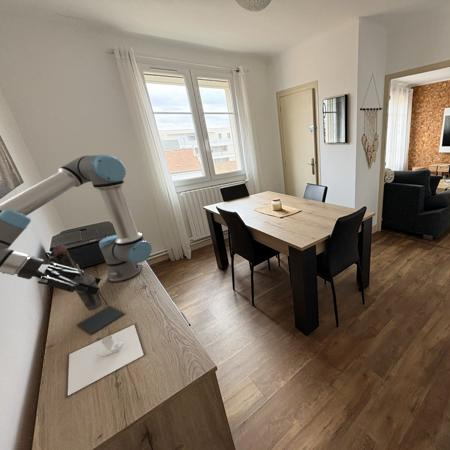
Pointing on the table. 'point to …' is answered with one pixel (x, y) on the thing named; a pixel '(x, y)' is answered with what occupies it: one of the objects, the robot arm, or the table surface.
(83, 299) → the beverage cup
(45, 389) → the table surface
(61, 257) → the statue
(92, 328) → the mat
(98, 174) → the robot arm
